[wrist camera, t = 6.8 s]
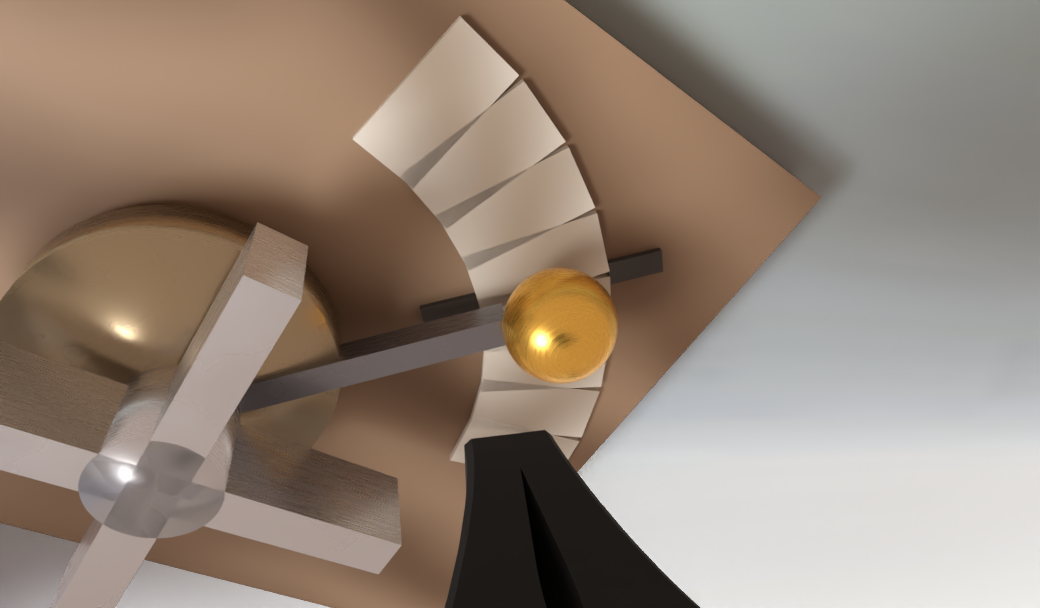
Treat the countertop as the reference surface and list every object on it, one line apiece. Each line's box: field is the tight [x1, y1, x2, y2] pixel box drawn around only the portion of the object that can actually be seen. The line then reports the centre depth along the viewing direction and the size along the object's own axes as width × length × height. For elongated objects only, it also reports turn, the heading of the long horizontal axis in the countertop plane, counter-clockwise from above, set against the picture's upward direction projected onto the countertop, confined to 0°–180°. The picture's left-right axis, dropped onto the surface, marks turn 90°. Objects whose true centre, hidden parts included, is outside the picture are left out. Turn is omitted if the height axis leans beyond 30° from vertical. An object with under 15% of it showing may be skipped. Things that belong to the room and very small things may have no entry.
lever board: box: [0, 0, 821, 608], centre depth 21 cm, size 21×21×2 cm
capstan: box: [0, 205, 618, 608], centre depth 18 cm, size 15×15×4 cm
